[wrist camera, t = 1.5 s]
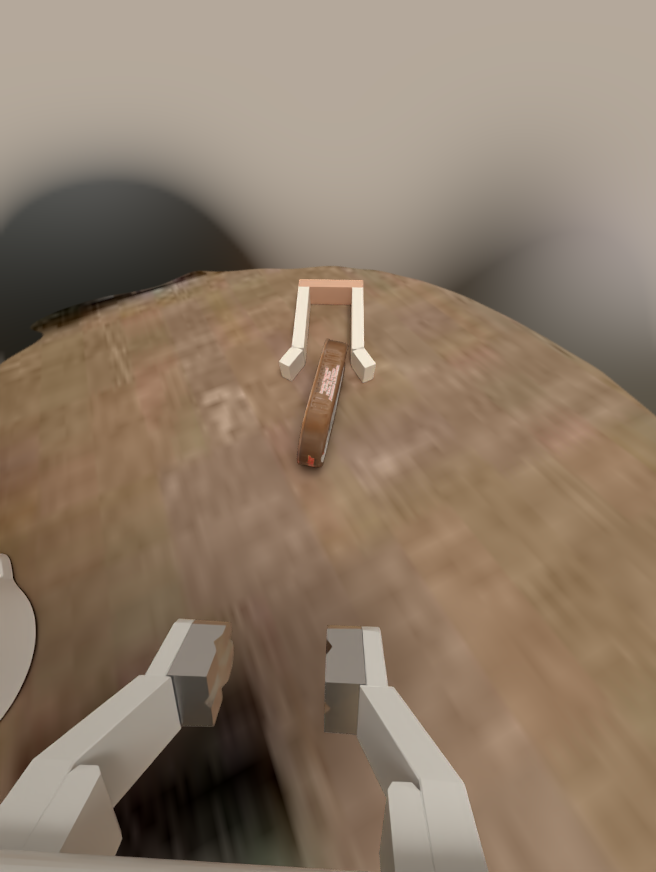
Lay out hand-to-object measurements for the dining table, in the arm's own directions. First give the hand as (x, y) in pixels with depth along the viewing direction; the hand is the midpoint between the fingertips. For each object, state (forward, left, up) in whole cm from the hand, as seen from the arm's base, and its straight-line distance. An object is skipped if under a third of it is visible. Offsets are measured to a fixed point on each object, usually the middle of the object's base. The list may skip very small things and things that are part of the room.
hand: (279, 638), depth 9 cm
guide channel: (0, +34, -23) cm, 42 cm away
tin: (0, +20, -24) cm, 31 cm away
